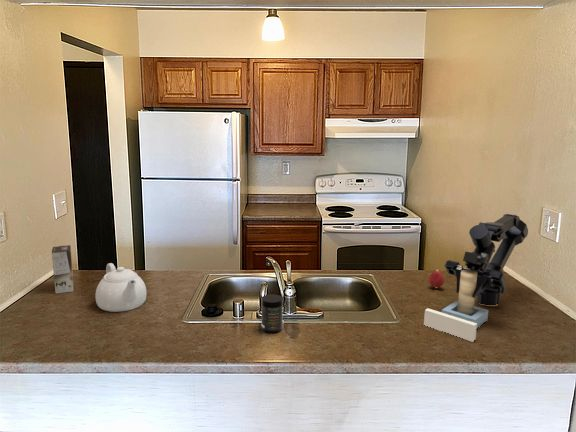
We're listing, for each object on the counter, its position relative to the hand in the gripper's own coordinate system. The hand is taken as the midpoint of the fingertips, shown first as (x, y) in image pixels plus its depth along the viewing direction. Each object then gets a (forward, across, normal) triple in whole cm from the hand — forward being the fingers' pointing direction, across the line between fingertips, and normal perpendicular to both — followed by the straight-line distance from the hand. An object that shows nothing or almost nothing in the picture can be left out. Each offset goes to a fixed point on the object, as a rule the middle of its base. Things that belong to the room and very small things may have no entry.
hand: (465, 294), depth 150 cm
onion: (-10, -22, +25) cm, 34 cm away
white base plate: (+8, 0, +6) cm, 10 cm away
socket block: (+6, 0, +8) cm, 10 cm away
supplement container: (+41, -42, -26) cm, 64 cm away
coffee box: (+64, -122, -50) cm, 147 cm away
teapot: (+57, -94, -43) cm, 118 cm away
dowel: (+4, 0, +6) cm, 7 cm away
